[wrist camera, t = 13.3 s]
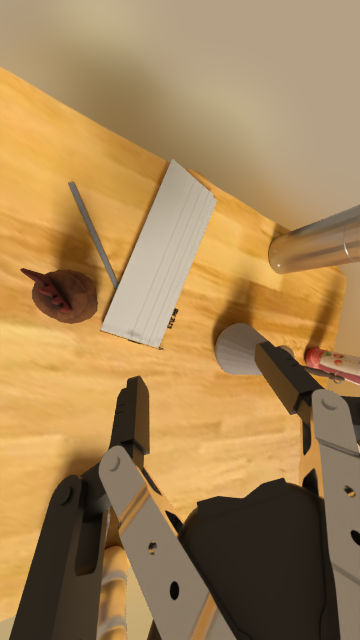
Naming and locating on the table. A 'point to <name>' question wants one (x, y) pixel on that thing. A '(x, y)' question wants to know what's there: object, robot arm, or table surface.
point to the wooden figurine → (64, 295)
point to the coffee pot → (249, 352)
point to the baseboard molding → (161, 259)
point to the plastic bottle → (113, 596)
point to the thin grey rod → (93, 234)
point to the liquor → (334, 363)
